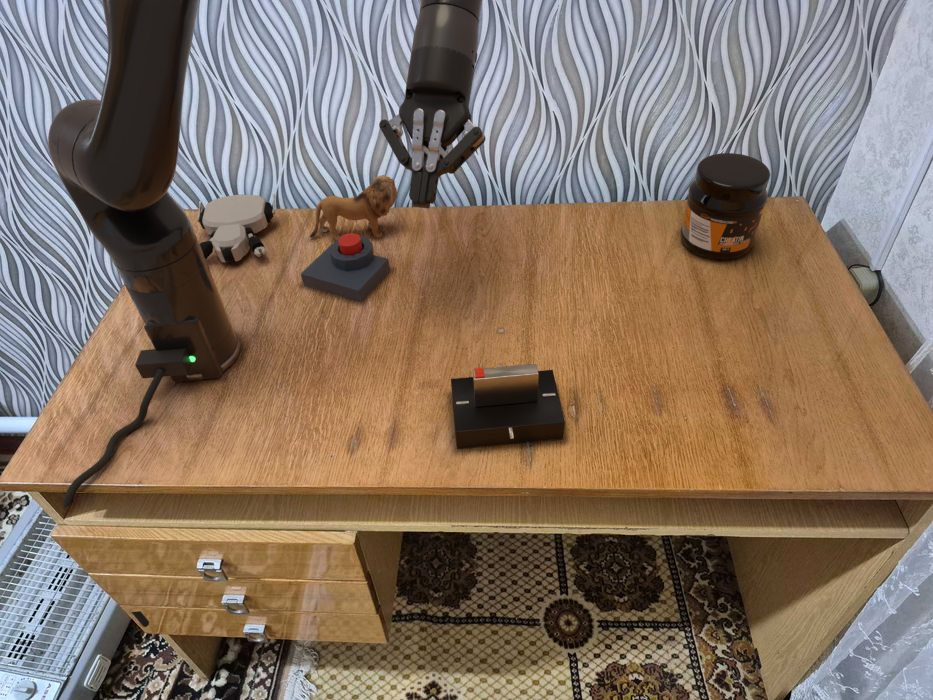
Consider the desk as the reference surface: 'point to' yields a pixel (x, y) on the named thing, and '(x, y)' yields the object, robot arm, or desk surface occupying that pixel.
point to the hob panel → (507, 416)
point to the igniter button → (350, 244)
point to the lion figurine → (358, 206)
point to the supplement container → (725, 205)
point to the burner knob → (505, 385)
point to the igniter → (346, 271)
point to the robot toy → (235, 225)
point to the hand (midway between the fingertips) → (421, 206)
